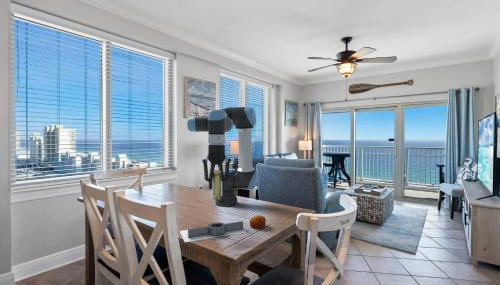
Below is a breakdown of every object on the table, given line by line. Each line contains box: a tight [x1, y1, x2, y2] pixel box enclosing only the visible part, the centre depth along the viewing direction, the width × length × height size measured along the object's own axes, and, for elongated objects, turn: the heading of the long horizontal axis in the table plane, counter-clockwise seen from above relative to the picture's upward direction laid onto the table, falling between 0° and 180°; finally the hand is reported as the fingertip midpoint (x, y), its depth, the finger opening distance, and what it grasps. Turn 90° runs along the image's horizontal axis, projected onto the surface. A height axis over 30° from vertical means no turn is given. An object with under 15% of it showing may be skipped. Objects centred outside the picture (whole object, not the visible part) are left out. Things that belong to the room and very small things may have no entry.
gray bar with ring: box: [187, 221, 244, 238], centre depth 116 cm, size 8×26×4 cm, turn 115°
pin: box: [212, 169, 221, 201], centre depth 116 cm, size 4×4×13 cm
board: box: [179, 229, 247, 243], centre depth 118 cm, size 14×28×1 cm, turn 115°
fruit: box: [249, 214, 267, 230], centre depth 125 cm, size 8×8×8 cm
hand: (216, 195), depth 116 cm, fingers closed on pin, 3 cm apart
